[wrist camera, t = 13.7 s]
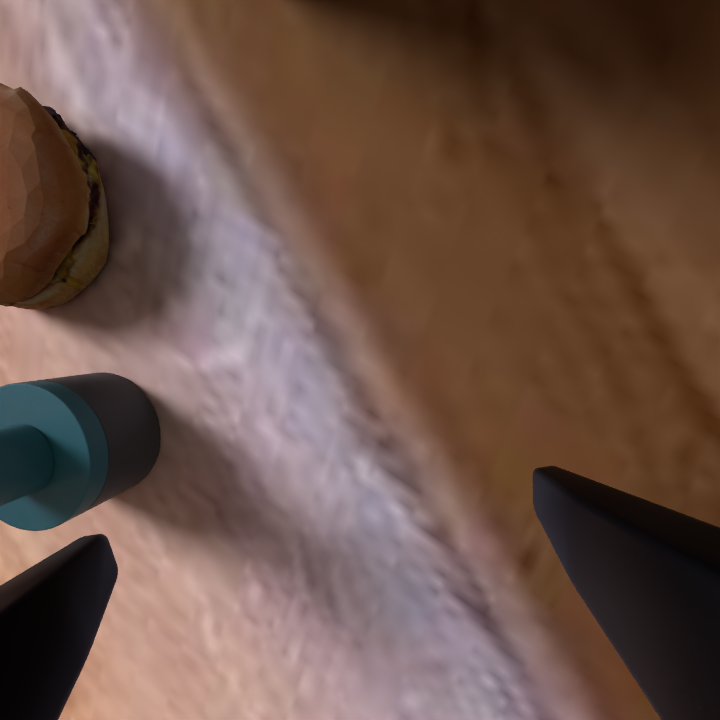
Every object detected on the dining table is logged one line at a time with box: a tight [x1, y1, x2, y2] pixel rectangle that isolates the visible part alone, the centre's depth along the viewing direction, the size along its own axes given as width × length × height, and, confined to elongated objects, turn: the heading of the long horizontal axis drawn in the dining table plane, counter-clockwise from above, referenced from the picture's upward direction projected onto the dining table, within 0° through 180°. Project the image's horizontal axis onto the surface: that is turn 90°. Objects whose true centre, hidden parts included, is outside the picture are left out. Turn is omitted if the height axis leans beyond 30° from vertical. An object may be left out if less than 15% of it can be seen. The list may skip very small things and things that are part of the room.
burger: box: [0, 83, 110, 309], centre depth 19 cm, size 10×9×5 cm
